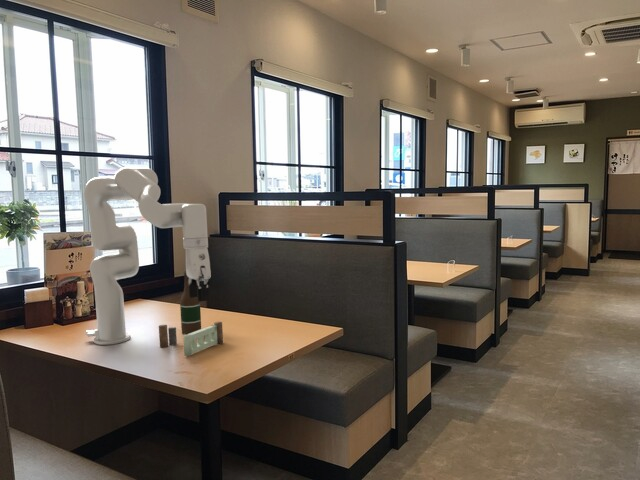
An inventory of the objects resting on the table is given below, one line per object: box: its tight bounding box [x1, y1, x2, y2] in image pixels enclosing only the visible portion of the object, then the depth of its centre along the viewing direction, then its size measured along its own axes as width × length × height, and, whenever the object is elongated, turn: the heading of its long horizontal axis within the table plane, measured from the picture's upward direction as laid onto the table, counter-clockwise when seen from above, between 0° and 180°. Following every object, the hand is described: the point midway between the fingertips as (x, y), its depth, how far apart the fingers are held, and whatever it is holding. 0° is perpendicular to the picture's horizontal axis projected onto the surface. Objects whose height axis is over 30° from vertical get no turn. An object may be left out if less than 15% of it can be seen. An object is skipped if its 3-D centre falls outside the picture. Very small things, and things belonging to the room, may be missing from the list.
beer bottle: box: [179, 270, 202, 335], centre depth 192 cm, size 8×8×24 cm
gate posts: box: [158, 321, 224, 349], centre depth 177 cm, size 22×4×8 cm, turn 96°
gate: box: [182, 324, 218, 357], centre depth 169 cm, size 15×2×6 cm, turn 151°
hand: (198, 298), depth 159 cm, fingers open, 6 cm apart
